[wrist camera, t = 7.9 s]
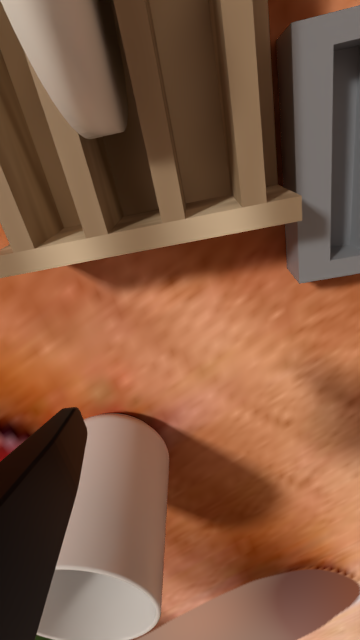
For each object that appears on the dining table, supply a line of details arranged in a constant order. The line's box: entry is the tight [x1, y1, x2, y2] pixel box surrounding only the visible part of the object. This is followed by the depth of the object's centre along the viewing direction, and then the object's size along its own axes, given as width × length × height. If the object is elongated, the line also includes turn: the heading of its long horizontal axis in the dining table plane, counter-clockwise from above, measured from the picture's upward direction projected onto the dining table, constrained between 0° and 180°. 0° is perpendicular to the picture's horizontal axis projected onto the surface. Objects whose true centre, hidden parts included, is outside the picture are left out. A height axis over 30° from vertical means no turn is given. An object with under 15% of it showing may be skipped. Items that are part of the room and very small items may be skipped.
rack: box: [0, 0, 302, 278], centre depth 13 cm, size 14×18×5 cm
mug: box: [36, 413, 170, 640], centre depth 23 cm, size 12×9×11 cm
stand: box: [276, 5, 360, 284], centre depth 16 cm, size 5×11×2 cm, turn 11°
